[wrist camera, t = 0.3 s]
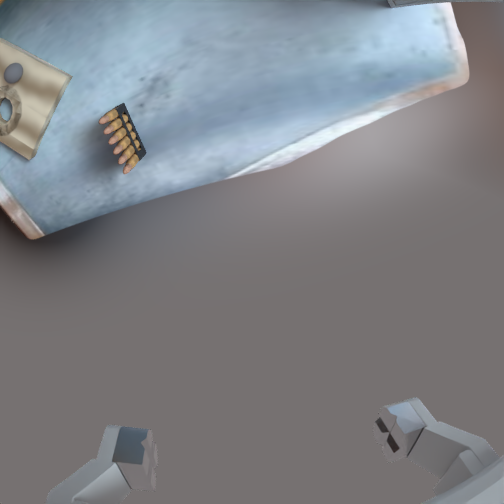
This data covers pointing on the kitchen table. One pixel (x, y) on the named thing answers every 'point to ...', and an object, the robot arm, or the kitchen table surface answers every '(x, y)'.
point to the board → (29, 98)
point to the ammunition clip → (124, 137)
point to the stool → (428, 2)
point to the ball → (13, 73)
